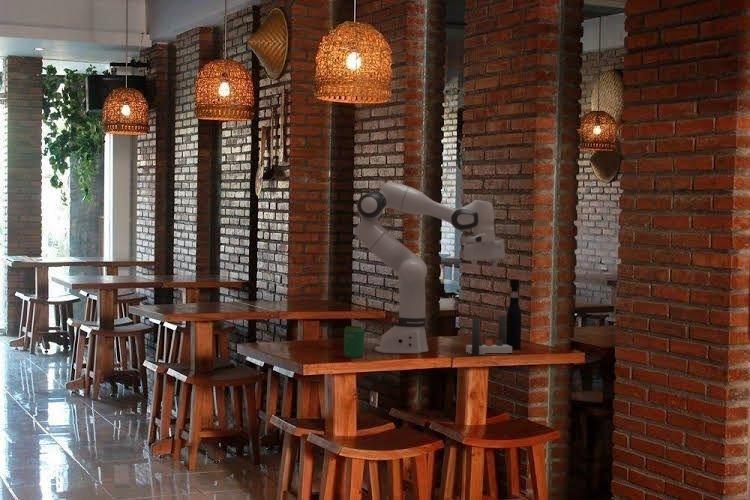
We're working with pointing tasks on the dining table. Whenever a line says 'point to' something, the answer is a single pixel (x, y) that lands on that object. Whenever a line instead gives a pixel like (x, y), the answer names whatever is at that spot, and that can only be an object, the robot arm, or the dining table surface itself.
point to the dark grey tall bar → (475, 336)
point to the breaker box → (491, 349)
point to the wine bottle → (513, 318)
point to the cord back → (502, 328)
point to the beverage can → (354, 342)
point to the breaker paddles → (489, 342)
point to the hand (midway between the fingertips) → (485, 270)
